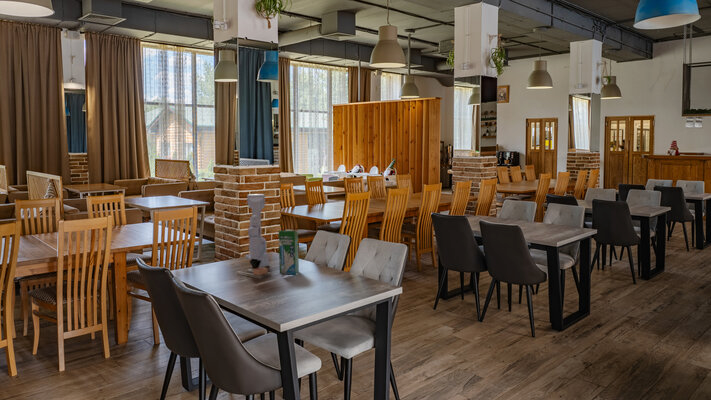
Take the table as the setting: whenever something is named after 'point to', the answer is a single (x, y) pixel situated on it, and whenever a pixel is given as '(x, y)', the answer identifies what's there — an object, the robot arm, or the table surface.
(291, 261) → the milk carton
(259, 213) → the robot arm
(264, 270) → the block
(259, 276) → the chute
